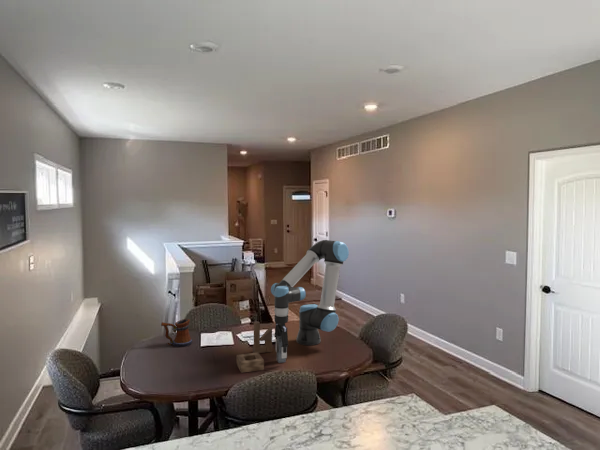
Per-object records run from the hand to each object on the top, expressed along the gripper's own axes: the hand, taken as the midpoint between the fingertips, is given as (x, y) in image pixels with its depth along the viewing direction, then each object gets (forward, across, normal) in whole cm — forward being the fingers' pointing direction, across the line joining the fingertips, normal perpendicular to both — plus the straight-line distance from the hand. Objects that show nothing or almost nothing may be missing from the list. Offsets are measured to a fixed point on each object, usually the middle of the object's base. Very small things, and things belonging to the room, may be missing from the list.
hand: (281, 354), depth 233 cm
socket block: (+4, +2, -18) cm, 18 cm away
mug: (+4, -46, -52) cm, 70 cm away
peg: (+4, 0, 0) cm, 4 cm away
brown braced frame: (+4, -17, -6) cm, 18 cm away
